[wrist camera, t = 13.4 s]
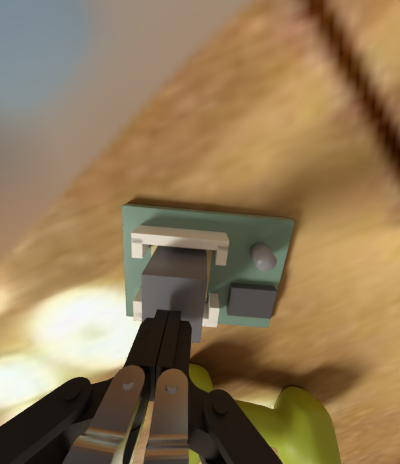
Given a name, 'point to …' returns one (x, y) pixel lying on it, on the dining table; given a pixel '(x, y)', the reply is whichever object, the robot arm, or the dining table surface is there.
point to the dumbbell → (285, 424)
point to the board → (212, 258)
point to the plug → (176, 285)
